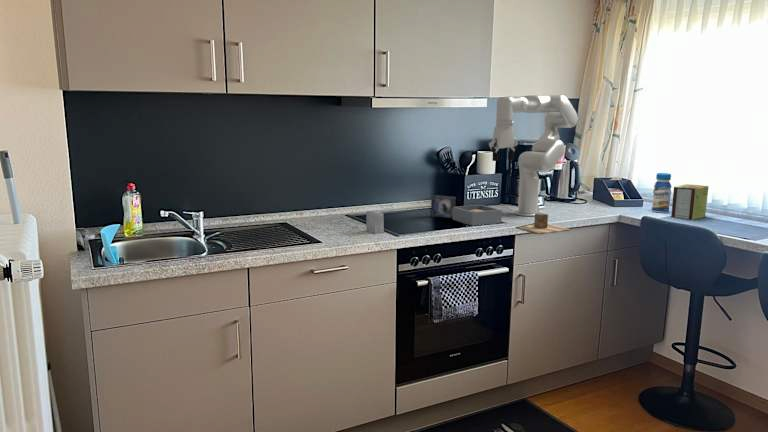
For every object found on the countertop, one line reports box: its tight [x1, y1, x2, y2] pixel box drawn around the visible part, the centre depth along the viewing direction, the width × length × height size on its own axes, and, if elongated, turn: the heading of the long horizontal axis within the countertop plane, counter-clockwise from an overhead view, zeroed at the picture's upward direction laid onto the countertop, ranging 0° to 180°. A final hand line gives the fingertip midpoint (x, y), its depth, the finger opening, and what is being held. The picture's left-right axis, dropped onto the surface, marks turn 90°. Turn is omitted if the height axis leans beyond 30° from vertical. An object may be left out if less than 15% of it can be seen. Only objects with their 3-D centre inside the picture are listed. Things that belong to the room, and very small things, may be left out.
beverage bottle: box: [651, 172, 672, 214], centre depth 301 cm, size 8×8×20 cm
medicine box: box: [365, 210, 385, 235], centre depth 248 cm, size 8×4×9 cm, turn 30°
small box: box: [430, 194, 457, 219], centre depth 281 cm, size 11×6×10 cm, turn 62°
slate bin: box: [452, 204, 503, 227], centre depth 268 cm, size 16×16×7 cm
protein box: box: [670, 183, 710, 221], centre depth 287 cm, size 10×15×16 cm
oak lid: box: [514, 212, 571, 235], centre depth 258 cm, size 18×18×7 cm
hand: (503, 160), depth 274 cm, fingers open, 9 cm apart
